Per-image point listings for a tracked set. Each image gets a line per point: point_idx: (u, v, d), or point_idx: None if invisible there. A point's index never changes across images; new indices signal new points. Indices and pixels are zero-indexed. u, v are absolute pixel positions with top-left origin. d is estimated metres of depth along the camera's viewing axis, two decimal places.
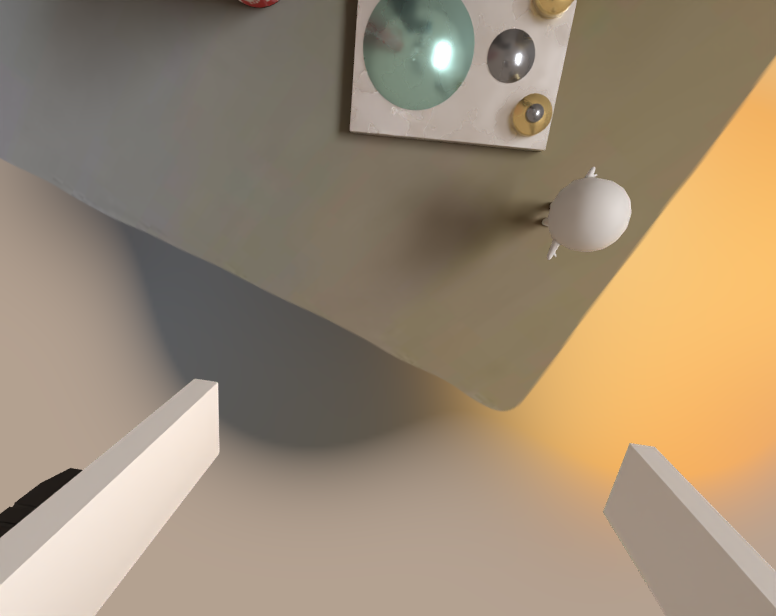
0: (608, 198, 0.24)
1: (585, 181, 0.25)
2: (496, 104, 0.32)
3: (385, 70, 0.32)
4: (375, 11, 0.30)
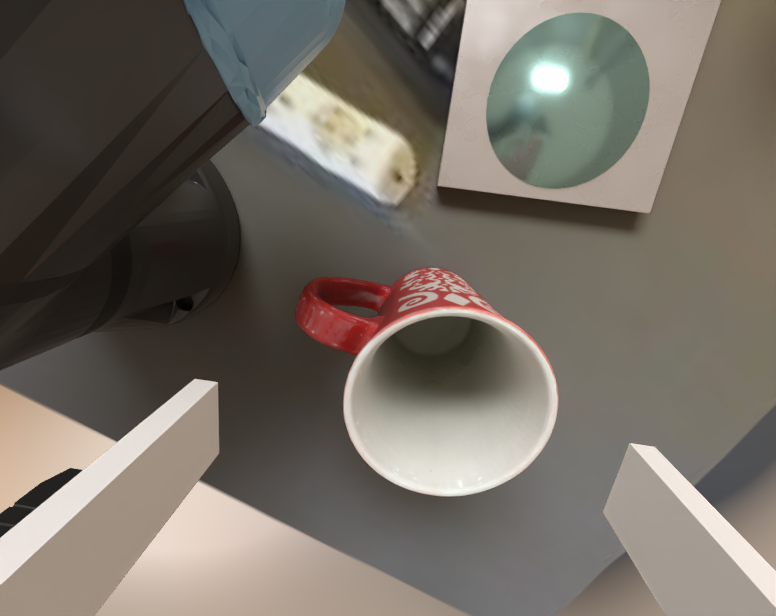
0: None
1: None
2: None
3: (583, 156, 0.23)
4: (513, 169, 0.23)
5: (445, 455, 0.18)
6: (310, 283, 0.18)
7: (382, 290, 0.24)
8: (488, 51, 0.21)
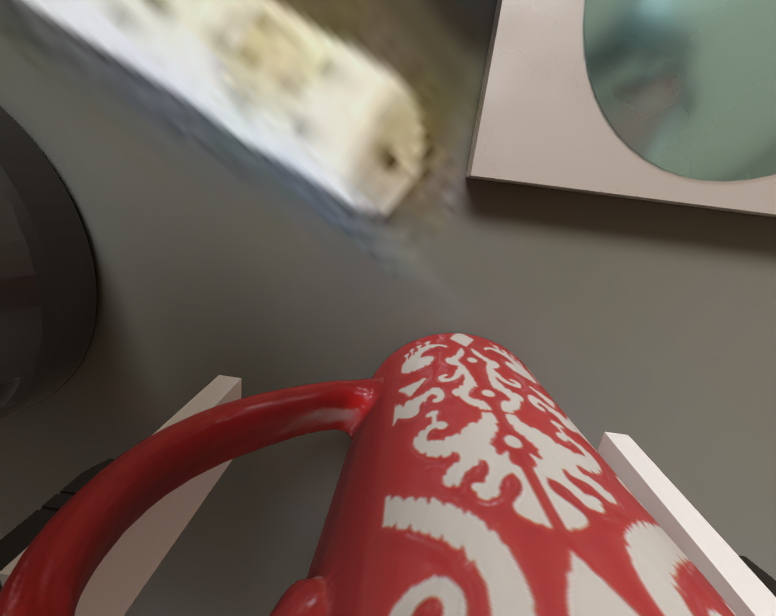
0: None
1: None
2: None
3: None
4: (635, 139, 0.11)
5: None
6: (78, 497, 0.05)
7: (357, 395, 0.11)
8: None
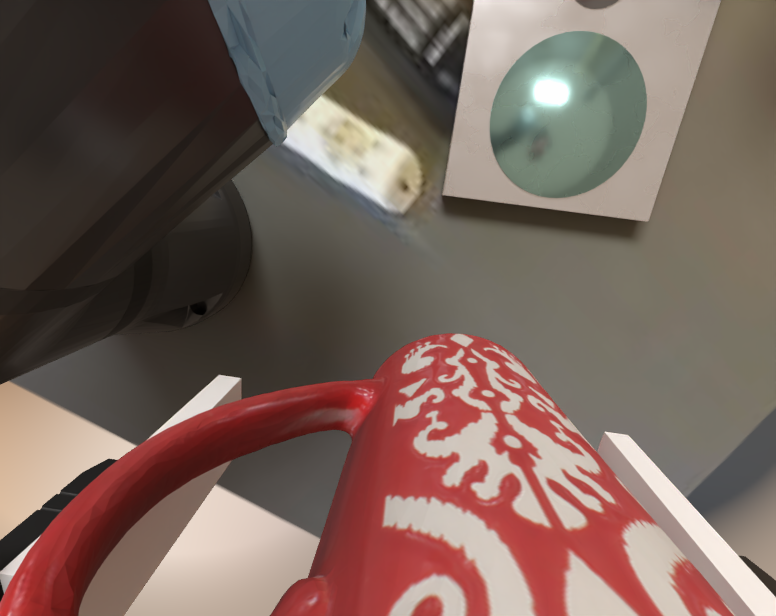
0: None
1: None
2: None
3: (583, 167, 0.24)
4: (515, 179, 0.24)
5: None
6: (81, 497, 0.05)
7: (357, 396, 0.11)
8: (491, 67, 0.22)
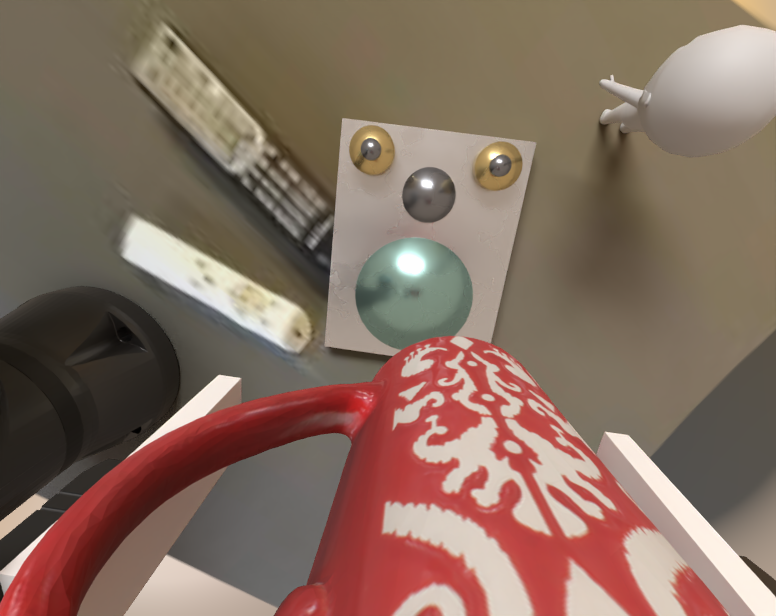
0: (727, 78, 0.15)
1: (668, 112, 0.17)
2: (476, 209, 0.27)
3: (431, 329, 0.30)
4: (379, 337, 0.30)
5: None
6: (78, 505, 0.05)
7: (357, 399, 0.11)
8: (352, 259, 0.29)
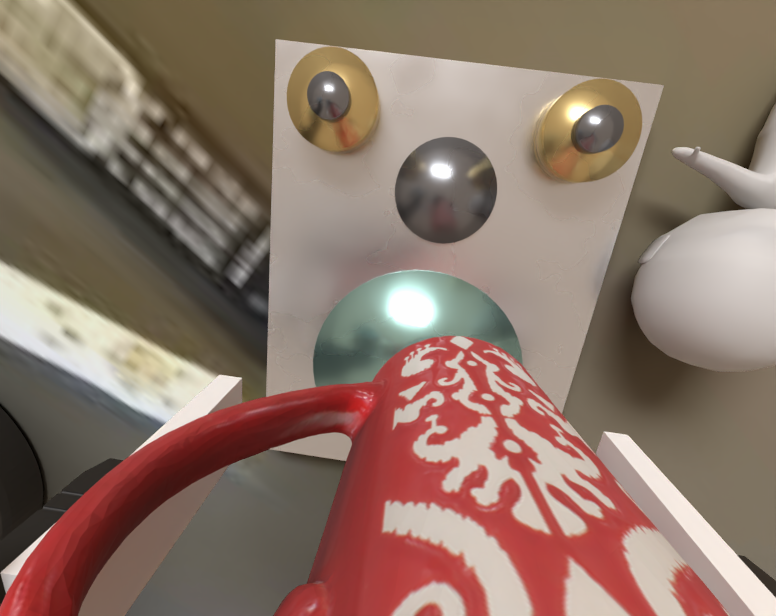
0: (658, 342, 0.13)
1: (632, 297, 0.15)
2: (535, 219, 0.14)
3: None
4: None
5: None
6: (80, 504, 0.05)
7: (357, 399, 0.11)
8: (306, 308, 0.16)
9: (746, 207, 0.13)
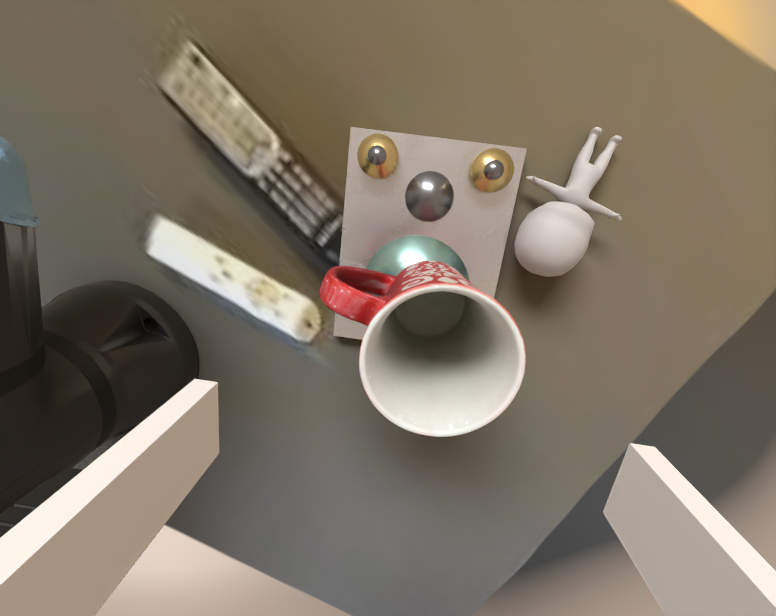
0: (521, 263, 0.29)
1: None
2: (472, 209, 0.30)
3: None
4: None
5: (440, 408, 0.22)
6: (331, 269, 0.22)
7: (388, 278, 0.28)
8: (359, 255, 0.31)
9: None
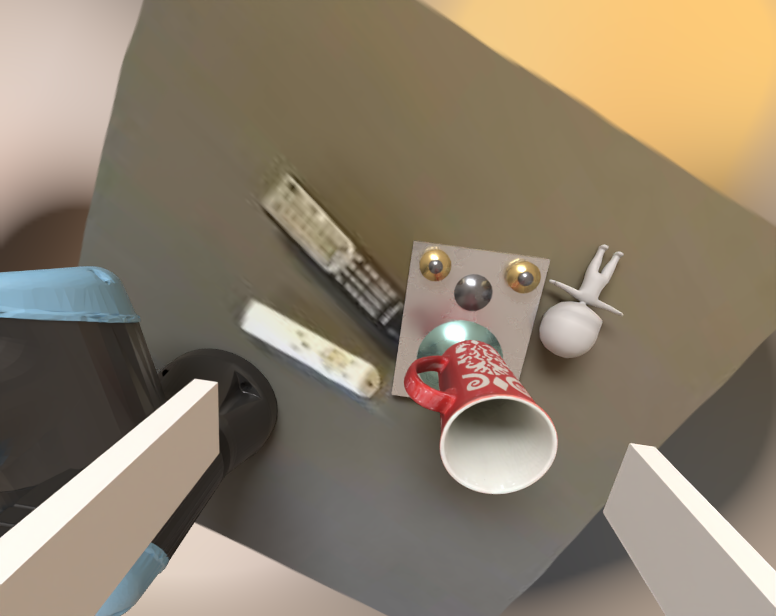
0: (545, 346, 0.37)
1: None
2: (507, 302, 0.38)
3: None
4: None
5: (491, 470, 0.30)
6: (413, 370, 0.30)
7: (443, 360, 0.36)
8: (416, 334, 0.40)
9: None
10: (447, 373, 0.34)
